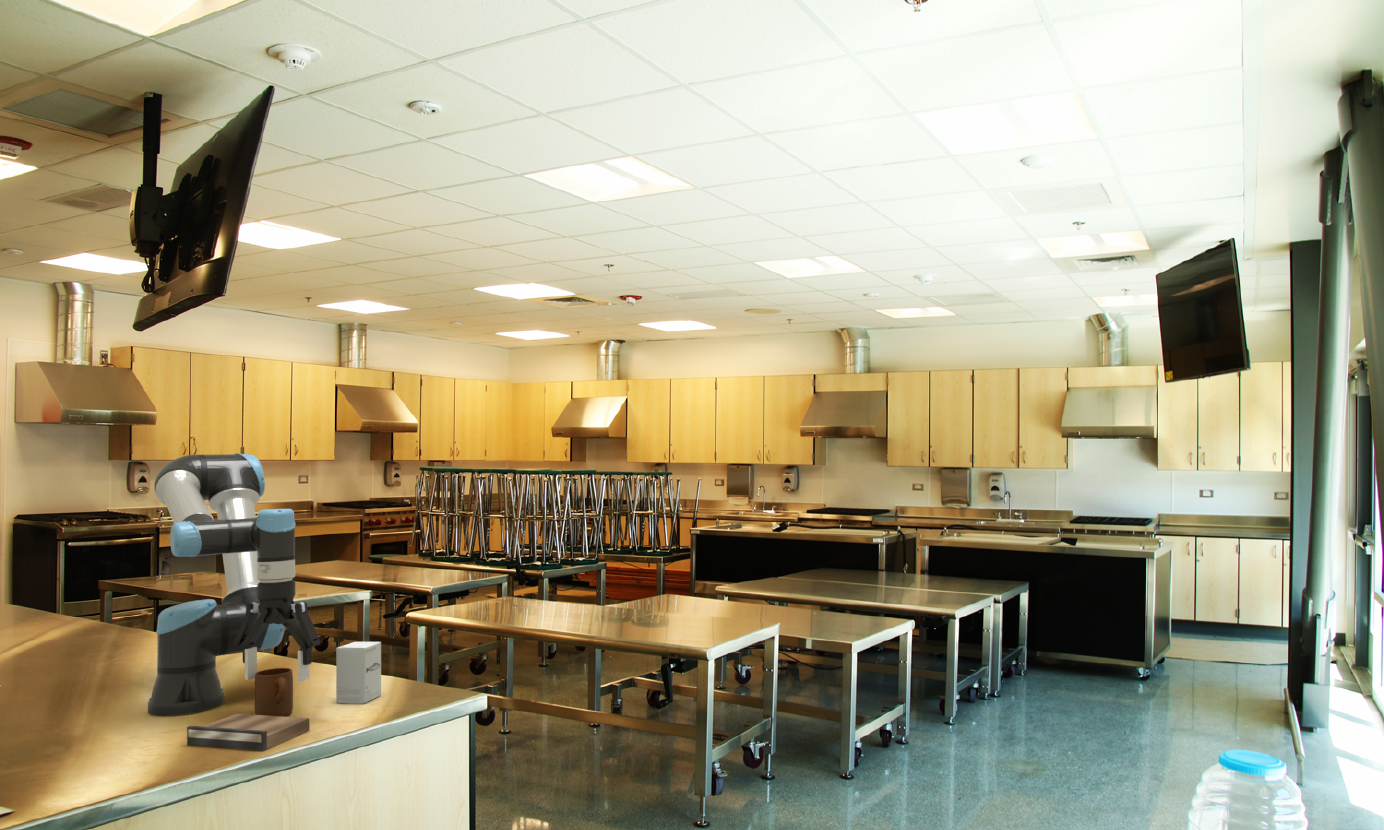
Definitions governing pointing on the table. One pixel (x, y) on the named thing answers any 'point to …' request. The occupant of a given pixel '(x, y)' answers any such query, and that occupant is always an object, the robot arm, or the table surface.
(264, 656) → the table surface
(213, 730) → the wooden slab
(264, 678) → the mug
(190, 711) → the robot arm
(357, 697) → the supplement box
